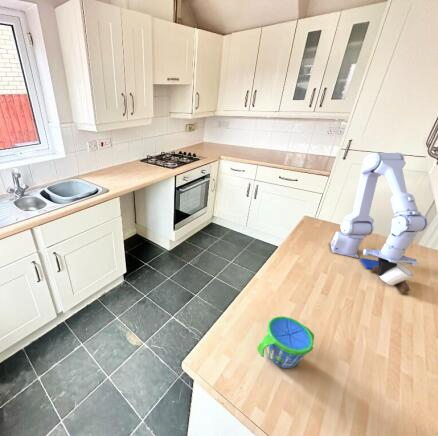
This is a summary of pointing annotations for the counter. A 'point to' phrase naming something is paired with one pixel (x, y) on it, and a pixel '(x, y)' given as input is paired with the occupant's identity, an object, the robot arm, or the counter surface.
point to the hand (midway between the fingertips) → (379, 274)
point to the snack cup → (286, 341)
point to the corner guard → (402, 285)
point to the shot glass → (396, 274)
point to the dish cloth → (369, 263)
